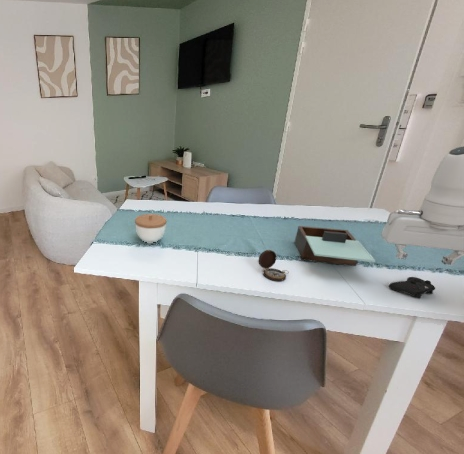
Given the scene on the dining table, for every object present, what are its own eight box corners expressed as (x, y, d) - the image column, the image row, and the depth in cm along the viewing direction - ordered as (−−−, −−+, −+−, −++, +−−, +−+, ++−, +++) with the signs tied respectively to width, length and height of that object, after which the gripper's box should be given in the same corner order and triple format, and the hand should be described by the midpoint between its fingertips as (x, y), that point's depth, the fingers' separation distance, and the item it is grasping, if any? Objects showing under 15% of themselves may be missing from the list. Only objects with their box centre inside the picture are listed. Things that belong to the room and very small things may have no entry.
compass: (273, 283, 88) (277, 262, 85) (255, 270, 95) (258, 250, 92) (295, 278, 90) (300, 258, 87) (276, 266, 97) (280, 246, 94)
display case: (342, 247, 106) (347, 230, 104) (355, 266, 94) (362, 247, 92) (294, 242, 112) (298, 225, 109) (301, 259, 100) (306, 241, 97)
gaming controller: (407, 277, 86) (431, 272, 81) (418, 295, 84) (444, 290, 79) (385, 284, 83) (409, 279, 78) (396, 302, 81) (421, 299, 76)
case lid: (357, 242, 94) (361, 232, 93) (375, 262, 83) (379, 251, 81) (305, 237, 100) (307, 227, 98) (314, 255, 88) (317, 244, 87)
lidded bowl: (132, 234, 126) (132, 211, 121) (160, 232, 127) (161, 208, 122) (138, 247, 114) (138, 222, 110) (169, 244, 115) (171, 219, 111)
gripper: (397, 212, 74) (379, 260, 79) (512, 221, 66) (483, 273, 72) (386, 205, 79) (369, 250, 84) (492, 212, 72) (466, 261, 77)
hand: (423, 260), depth 78 cm, fingers open, 8 cm apart
